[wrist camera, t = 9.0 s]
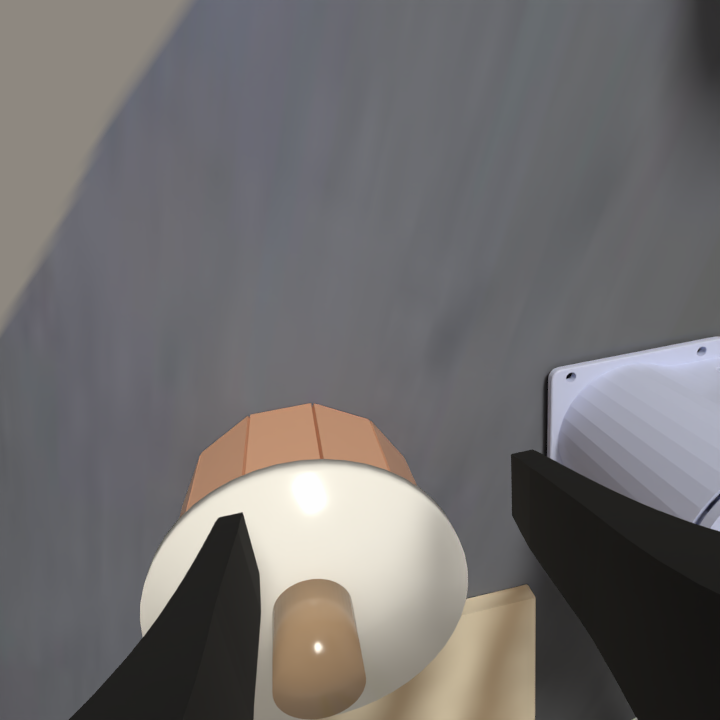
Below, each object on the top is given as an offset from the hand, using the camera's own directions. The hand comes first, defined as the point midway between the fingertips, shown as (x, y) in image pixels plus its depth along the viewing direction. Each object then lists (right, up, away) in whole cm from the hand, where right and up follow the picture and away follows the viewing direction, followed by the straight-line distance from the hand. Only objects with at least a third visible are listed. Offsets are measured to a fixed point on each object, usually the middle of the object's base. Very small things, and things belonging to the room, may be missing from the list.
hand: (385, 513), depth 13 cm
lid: (-3, -6, +8) cm, 10 cm away
